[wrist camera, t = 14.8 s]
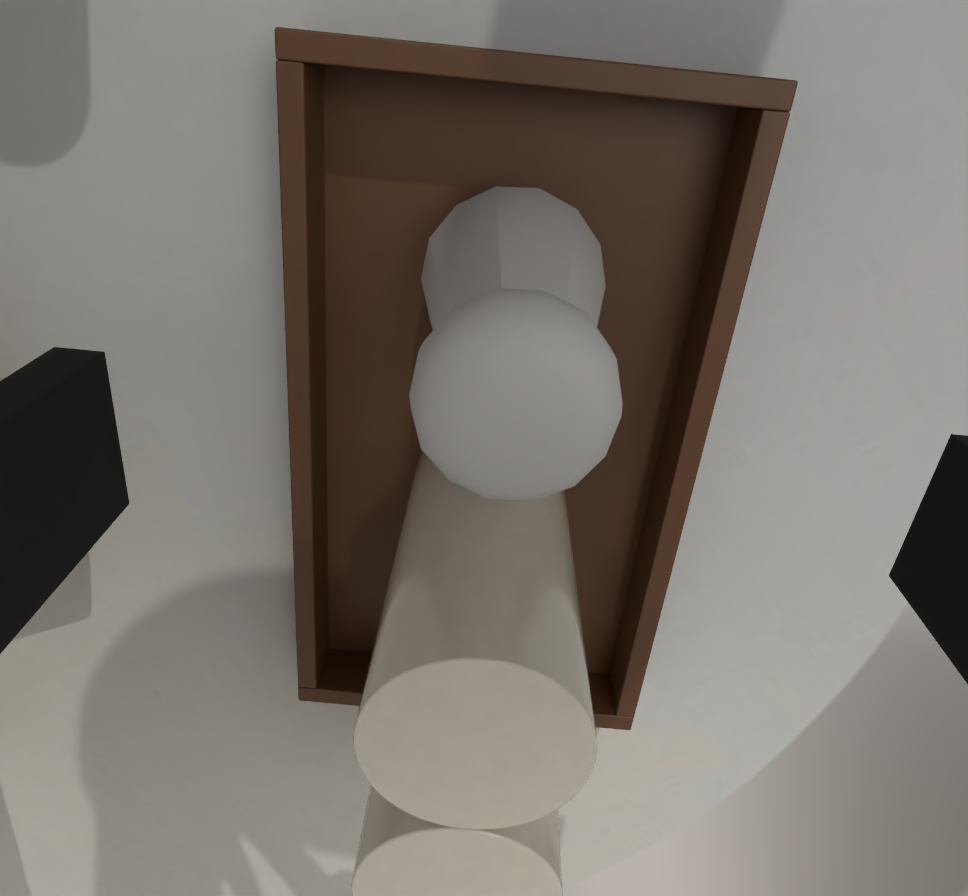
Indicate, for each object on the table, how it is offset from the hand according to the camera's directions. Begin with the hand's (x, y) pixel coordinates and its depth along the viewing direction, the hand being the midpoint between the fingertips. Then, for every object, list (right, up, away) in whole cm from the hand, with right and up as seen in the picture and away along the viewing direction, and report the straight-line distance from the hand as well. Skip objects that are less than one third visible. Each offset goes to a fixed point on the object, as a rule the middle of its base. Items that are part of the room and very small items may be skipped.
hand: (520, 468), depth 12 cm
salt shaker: (0, +7, +14) cm, 15 cm away
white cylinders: (-1, -4, +19) cm, 20 cm away
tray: (0, +1, +17) cm, 17 cm away
